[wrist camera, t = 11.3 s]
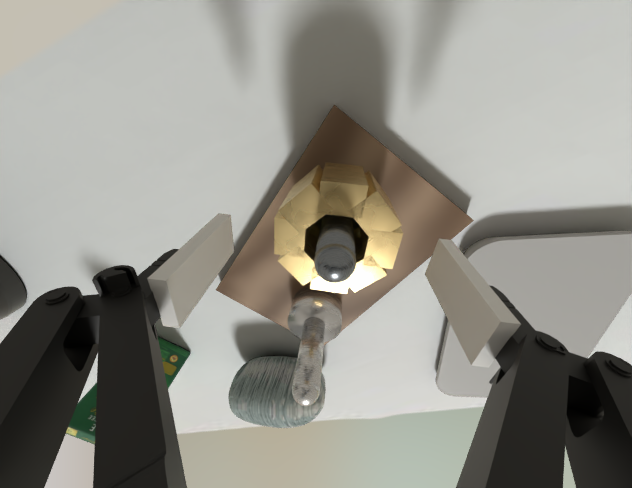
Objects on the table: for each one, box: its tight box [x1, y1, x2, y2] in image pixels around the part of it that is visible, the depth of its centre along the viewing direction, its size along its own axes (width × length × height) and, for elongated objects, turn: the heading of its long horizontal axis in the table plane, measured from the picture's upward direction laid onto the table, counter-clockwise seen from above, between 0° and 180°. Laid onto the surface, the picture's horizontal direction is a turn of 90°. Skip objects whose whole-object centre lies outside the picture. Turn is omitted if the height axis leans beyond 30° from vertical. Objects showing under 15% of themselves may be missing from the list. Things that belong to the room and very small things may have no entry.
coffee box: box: [66, 336, 190, 444], centre depth 33 cm, size 8×3×13 cm, turn 55°
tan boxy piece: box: [274, 162, 403, 294], centre depth 18 cm, size 8×8×5 cm
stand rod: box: [288, 287, 342, 406], centre depth 25 cm, size 6×6×11 cm
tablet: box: [436, 231, 632, 398], centre depth 29 cm, size 16×26×2 cm, turn 7°
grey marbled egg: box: [229, 356, 326, 428], centre depth 35 cm, size 14×10×10 cm
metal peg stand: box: [314, 214, 360, 283], centre depth 18 cm, size 6×6×11 cm
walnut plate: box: [216, 105, 474, 345], centre depth 27 cm, size 16×24×2 cm, turn 145°
